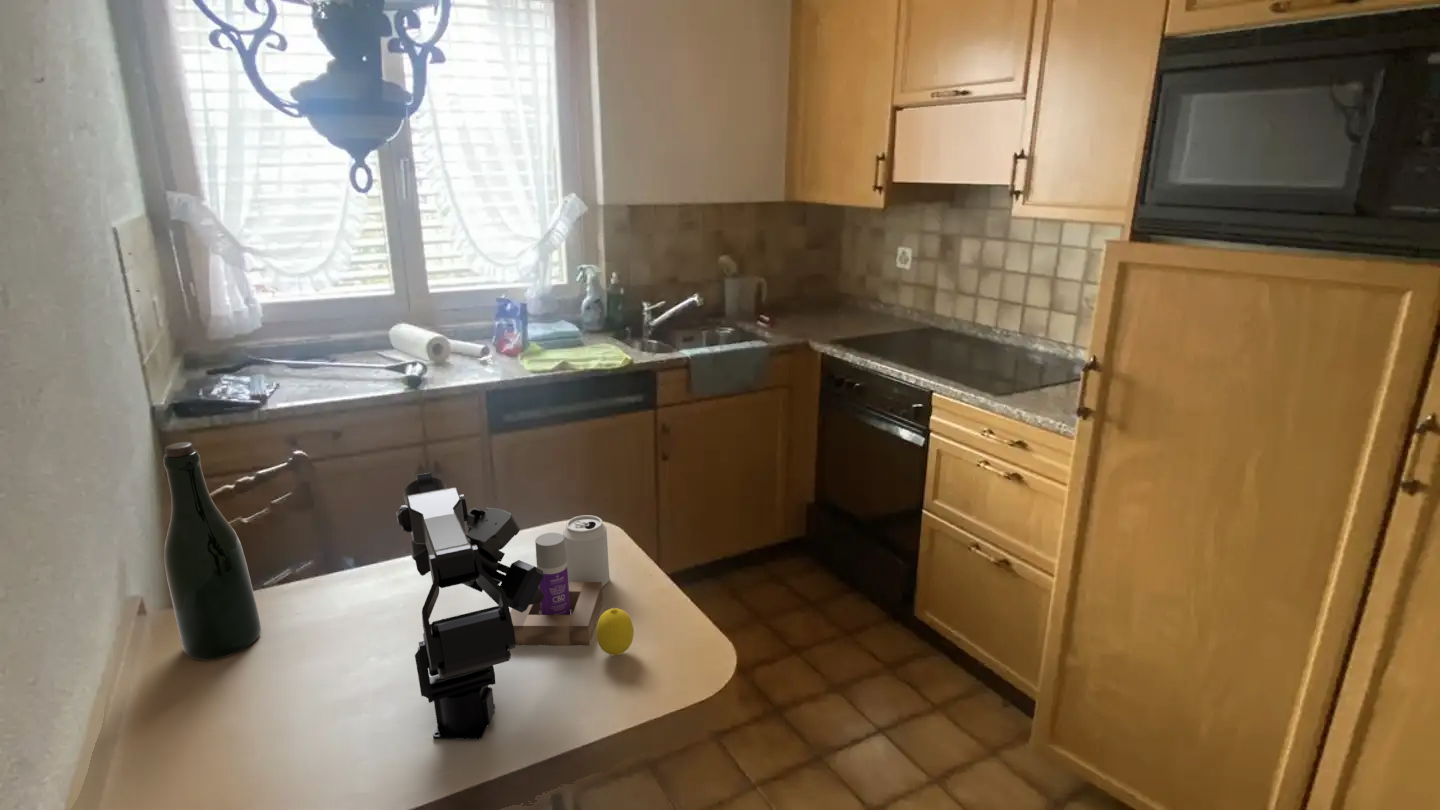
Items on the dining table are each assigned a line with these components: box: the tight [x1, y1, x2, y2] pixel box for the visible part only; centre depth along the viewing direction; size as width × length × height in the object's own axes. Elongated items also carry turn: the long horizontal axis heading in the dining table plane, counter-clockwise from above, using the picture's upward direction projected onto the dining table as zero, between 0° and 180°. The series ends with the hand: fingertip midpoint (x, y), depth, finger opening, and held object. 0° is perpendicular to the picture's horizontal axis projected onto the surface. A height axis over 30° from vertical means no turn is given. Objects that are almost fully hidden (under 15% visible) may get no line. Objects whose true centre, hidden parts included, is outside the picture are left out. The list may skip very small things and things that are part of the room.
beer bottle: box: [162, 441, 262, 661], centre depth 118 cm, size 10×10×33 cm
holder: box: [510, 582, 604, 647], centre depth 127 cm, size 13×13×4 cm
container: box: [535, 532, 572, 615], centre depth 125 cm, size 5×5×15 cm
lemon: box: [595, 607, 634, 657], centre depth 118 cm, size 6×6×8 cm
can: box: [562, 514, 610, 588], centre depth 137 cm, size 8×8×12 cm
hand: (520, 589), depth 119 cm, fingers open, 9 cm apart
